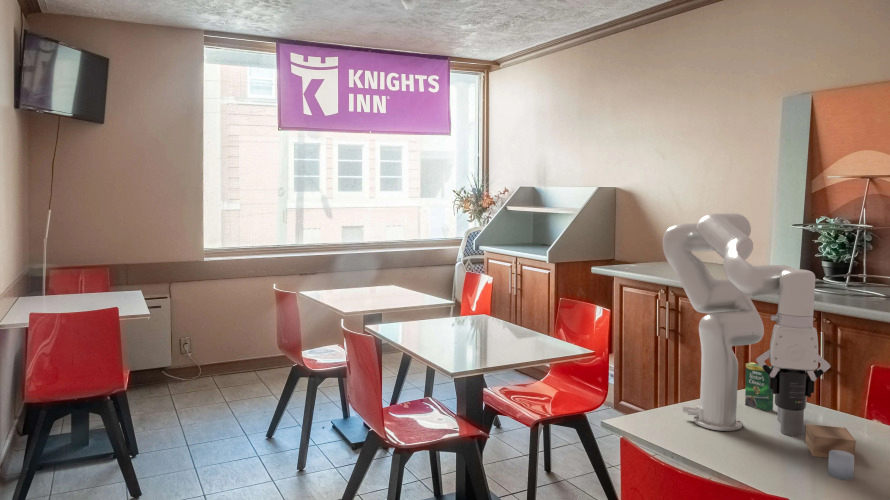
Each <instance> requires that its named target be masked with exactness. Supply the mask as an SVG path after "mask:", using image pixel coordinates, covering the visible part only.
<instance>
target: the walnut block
mask: <svg viewBox="0 0 890 500" xmlns="http://www.w3.org/2000/svg"><path fill="white" fill-rule="evenodd" d="M805 425H806V426H805V427H806V428H805V445H806V447H807V448H808V450H809V451H810V453H811V455H812V456H813V457H820V458H828V459H829V451H831V450H841V451H846V452H849V453H851V454H853V455H854V461H855V460H856V445H857V444H856V442H857V439H855V438H854V436H853V435H852V434H851V432H849V430H848V429H847V427H841V426H839V427H838V426H830V425H820V424H810V423H809V424H808V423H806V424H805Z"/></svg>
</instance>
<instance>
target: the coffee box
mask: <svg viewBox="0 0 890 500" xmlns="http://www.w3.org/2000/svg"><path fill="white" fill-rule="evenodd" d="M767 366H768V367H769V368H771V366H770V365H767ZM769 377H770V376H769V375H768V373H767V372H766V371H765V370H764V369H763V368H762V367H761V366H760V365H759V364H758V363H757V362H747V363H745V385H744V386H745V389H744V390H745V395H744V398H745V399H744V402H745V403H744V405H745V406H749V407H753V408H756V409H759V410H761V411H765V412H772V411H774V394H773V392H772V390H771V389H769Z"/></svg>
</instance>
